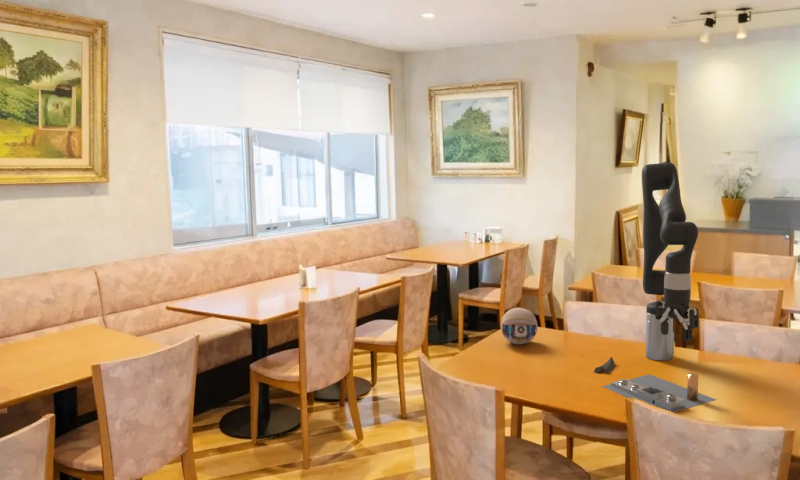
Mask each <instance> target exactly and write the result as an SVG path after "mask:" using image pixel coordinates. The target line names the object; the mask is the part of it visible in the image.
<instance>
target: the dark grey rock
mask: <svg viewBox="0 0 800 480" xmlns="http://www.w3.org/2000/svg"><path fill="white" fill-rule="evenodd" d="M614 367H615V360H614V359H613V357H612V356H611V357H609V359H608V360H607V361H606V362H605V363H603V364H602V365H600V366H598V367H595V368H594V371H593V373H604V374H605V375H609V374H611V372H612V371H613V370H614Z"/></svg>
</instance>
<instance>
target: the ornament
mask: <svg viewBox="0 0 800 480" xmlns="http://www.w3.org/2000/svg"><path fill="white" fill-rule="evenodd" d="M536 318H537V317H536V316H535V315H534V314H533V313H532V312H531V311H530V310H529V309H528V308H527V309H526V308H523V307H514V308H511V309H510V310H507V311H506V312H505V313H504V315H503V316H502V318H501V321H500V331H501V333H502V335H503V337H504V338H505V339H506V341H508V342H510V343H511V344H514V345H524V344H525V345H526V344H528V343H529V342H531V341H533V339H534V338H535V337H536V335H537V332H538V321H537V319H536Z"/></svg>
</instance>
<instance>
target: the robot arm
mask: <svg viewBox="0 0 800 480" xmlns="http://www.w3.org/2000/svg"><path fill="white" fill-rule="evenodd" d="M641 170H642V171H641V186H642V187H641V188H642V198H643V199H642V200H643V223H642V226H643V227H642V228H643V229H642V233H643V235H642V236H643V273H642V289H643V292H644V293H645V294H647V295H653V296H663V298H662V299H659V300H657V301H653V302H649V303H647V305H646V311H645V312H646V313H645V315H646V316H645V317H646V321H645V357H646V358H647V359H650V360H654V361H670V360H672V359H673V358H674V357H675V356H674V355H675V352H674V351H675V332H674V330H673V327H674V319H675V320H677V321H679V322H680V324H682V326H683V328H684V329H683V341H684V342H690V341H691V340H693V330H694V329H697V328H699V327H700V325H699V323H700V322H699V309H698V308H690V302H691V296H692V295H691V293H692V291H691V290H692V289H691V288H692V277H691V267H692V265H691V262H692V261H691V260H692V255H693V252H694V248H695V245H696V243H697V240H698V236H699V228H698V226H697V225H696V224H695V223H694V222H692V221H686V220H687V215H686V211H685V209H684V206H683V202H682V197H681V189H680V188H681V187H680V181H679V174H678V170H677V167H676V165H675V164H674V163H672V162H661V163H660V162H659V163H649V164H648V163H647V164H645V165H643V167H642V169H641ZM663 190H667V191H666V192H665V193H664V194H663V196H662V197H661V199H660V202H659V204H658V203H657V201H656V199H655V197H654V192H655V191H663ZM668 246H682V247H681V249H679V250H676V251H672V252H669V253H667V254H666V255H665V269H664V270H663V269H662V270H661V269H658V270H657V269H653V268H654V266H655V264H656V262H657V260H658V259H659V258H660V256H661V255H662V254H663V253H664V252H665V250H666V249H667V248H668Z"/></svg>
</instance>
